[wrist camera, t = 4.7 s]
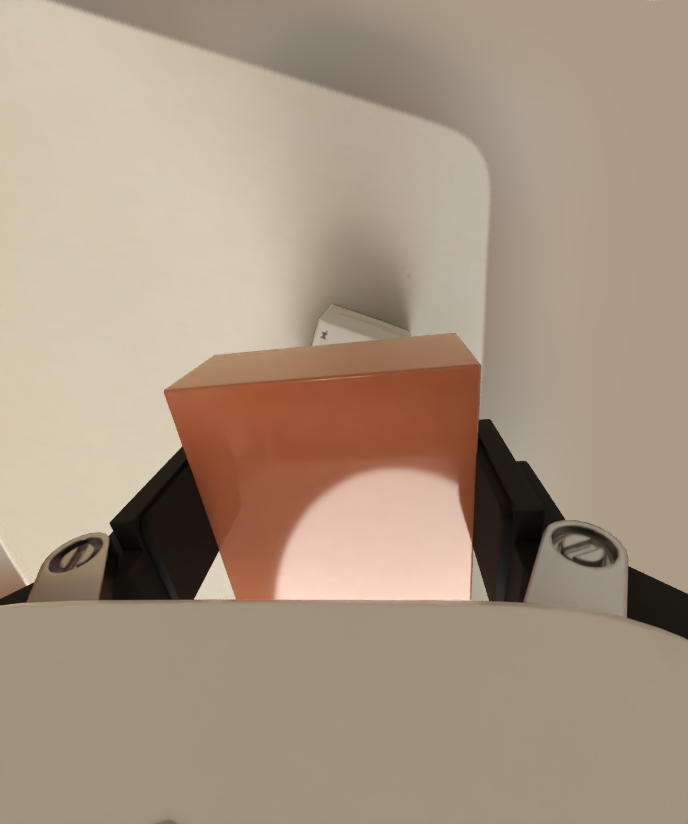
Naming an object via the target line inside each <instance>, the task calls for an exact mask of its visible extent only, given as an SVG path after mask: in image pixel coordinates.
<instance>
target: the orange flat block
mask: <svg viewBox="0 0 688 824" xmlns="http://www.w3.org/2000/svg"><path fill="white" fill-rule="evenodd" d="M480 382H481V365H480V363H479V362H478V361H477V360H476V358H475V357H474V356H473V355H472V353H471V352H470V351H469V350H468V348H467V347H466V346H465V345H464V343H463V342H462V341H461V339H460V338H459V337H458V336H457V334H456V333H447V334H436V335H425V336H414V337H404V338H393V339H382V340H371V341H360V342H350V343H339V344H328V345H317V346H307V347H296V348H285V349H274V350H264V351H253V352H242V353H231V354H220V355H214V356H212V357H211V358H209V359H208V360H207V361H205V362H204V363H202V364H201V365H199V366H198V367H197V368H195V369H194V370H192V371H191V372H189V373H188V374H187V375H185V376H184V377H182V378H181V379H179V380H178V381H176V382H175V383H174V384H172V385H171V386H169V387H168V388H166V389H165V390H164V394H165V397H166V400H167V403H168V406H169V408H170V411H171V414H172V417H173V420H174V423H175V426H176V428H177V431H178V434H179V437H180V440H181V443H182V446H183V449H184V451H185V454H186V457H187V460H188V463H189V466H190V468H191V471H192V473H193V476H194V479H195V482H196V485H197V488H198V491H199V493H200V496H201V499H202V502H203V505H204V508H205V511H206V513H207V516H208V519H209V522H210V525H211V528H212V531H213V533H214V536H215V539H216V542H217V545H218V548H219V551H220V554H221V557H222V560H223V563H224V566H225V569H226V571H227V574H228V577H229V580H230V583H231V586H232V589H233V591H234V594H235V597H236V600H443V601H469V600H471V591H472V568H473V525H474V500H475V476H476V453H477V452H478V429H479V406H480Z"/></svg>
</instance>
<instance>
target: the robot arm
mask: <svg viewBox="0 0 688 824" xmlns="http://www.w3.org/2000/svg"><path fill="white" fill-rule="evenodd" d="M110 525H111V527H112V529H113V532H112V533H111V534H110V535H109V536H107V535H106V534H104V533H100V532H99V533H89V534H86V535H82V536H79V537H77V538H75V539H72V540H70V541H68V542H67V543H65V544H63V545H61V546H60V547H59V548H57V549H56V550H55V551H53V552H52V553H51V554H50V555H49V556H48V557H47V558H46V559H45V561H44V562H43V564H42V566H41V568H40V570H39V573H38V575H37V578H36V580H35V582H34V583H32V584H30V585H28V586H26V587H24V588H22V589H20V590H18V591H16V592H14V593H12V594H10V595H8V596H5V597H3V598H1V599H0V824H688V594H687V593H684V592H682V591H680V590H678V589H676V588H674V587H672V586H670V585H667V584H665V583H663V582H661V581H659V580H657V579H655V578H653V577H650V576H648V575H646V574H644V573H642V572H640V571H638V570H635V569H633V568H631V567H629V566H628V555H627V552H626V549H625V547H624V546H623V545H622V543H621V542H620V541H619V540H618V539H617V538H615V537H614V536H613V535H612V534H610V533H609V532H607V531H605V530H604V529H602V528H600V527H598V526H595V525H592V524H590V523H587V522H581V521H576V520H565V518H564V517H563V515H562V514H561V512H560V511H559V509H558V508H557V506H556V505H555V503H554V502H553V500H552V499H551V497H550V495H549V494H548V493H547V491H546V489H545V488H544V486H543V485H542V483H541V482H540V480H539V479H538V478H537V476H536V474H535V473H534V471H533V470H532V468H531V467H530V465H529V464H528V463H527V462H526V461H515V459H514V457H513V456H512V454H511V453H510V451H509V449H508V447H507V446H506V444H505V442H504V441H503V439H502V437H501V436H500V434H499V432H498V431H497V430H496V428H495V426H494V424H493V423H492V421H491V420H490V419H484V420H479V429H478V452H477V453H476V476H475V500H474V525H473V548H474V551H475V555H476V558H477V562H478V565H479V568H480V571H481V575H482V578H483V582H484V585H485V588H486V592H487V595H488V598H489V601H443V600H194V598H195V596H196V594H197V592H198V590H199V588H200V586H201V585H202V583H203V581H204V579H205V577H206V575H207V573H208V571H209V569H210V567H211V565H212V563H213V561H214V559H215V557H216V556H217V554H218V552H219V548H218V545H217V542H216V539H215V536H214V533H213V531H212V528H211V525H210V522H209V519H208V516H207V513H206V511H205V508H204V505H203V502H202V499H201V496H200V493H199V491H198V488H197V485H196V482H195V479H194V476H193V473H192V471H191V468H190V466H189V463H188V460H187V457H186V454H185V451H184V449H183V446H182V447H181V448H180V449H179V451H178V452H177V453H176V454H175V455H174V456H173V457H172V458H171V459H170V460H169V461H168V462H167V463H166V464H165V465H164V466H163V467H162V468H161V469H160V470H159V471H158V472H157V474H156V475H155V476H154V477H153V478H152V479H151V480H150V481H149V482H148V483H147V484H146V485H145V486H144V487H143V488H142V489H141V490H140V491H139V492H138V493H137V494H136V496H135V497H134V498H133V499H132V500H131V501H130V502H129V503H128V504H127V505H126V506H125V507H124V508H123V509H122V510H121V511H120V512H119V513H118V514H117V515H116V516H115V518H114V519H113V520H112V521H111V522H110Z"/></svg>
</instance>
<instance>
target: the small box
mask: <svg viewBox="0 0 688 824" xmlns="http://www.w3.org/2000/svg"><path fill="white" fill-rule="evenodd" d="M404 337H411V334H410V332H409V331H407V330H404V329H402V328H399V327H397V326H394V325H391V324H388V323H386V322H383V321H380V320H377V319H374V318H371V317H368V316H366V315H363V314H360V313H357V312H354V311H351V310H348V309H345V308H342V307H339V306H336V305H333V304H331V305H330V306H329V307H328V308H327V310H326V311H325V312H324V313H323V314H322V316H321V317H320V318H319V320H318V323H317V327H316V331H315V334H314V337H313V341H312V344H311V346H317V345H328V344H339V343H350V342H360V341H371V340H382V339H393V338H404Z"/></svg>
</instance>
